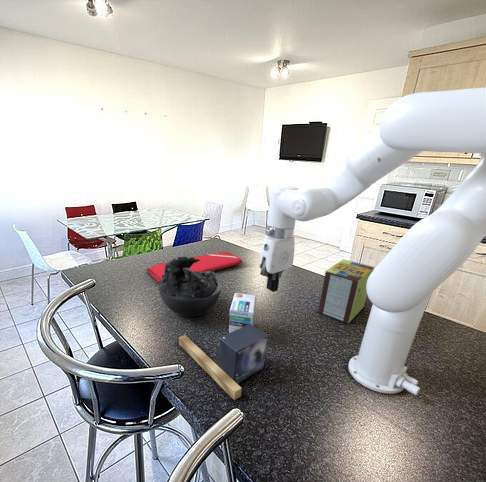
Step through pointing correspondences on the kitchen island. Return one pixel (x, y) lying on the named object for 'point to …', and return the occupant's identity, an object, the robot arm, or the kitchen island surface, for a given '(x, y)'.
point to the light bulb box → (242, 311)
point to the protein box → (344, 290)
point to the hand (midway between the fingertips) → (271, 289)
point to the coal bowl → (188, 288)
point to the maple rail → (211, 368)
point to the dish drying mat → (201, 264)
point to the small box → (242, 352)
